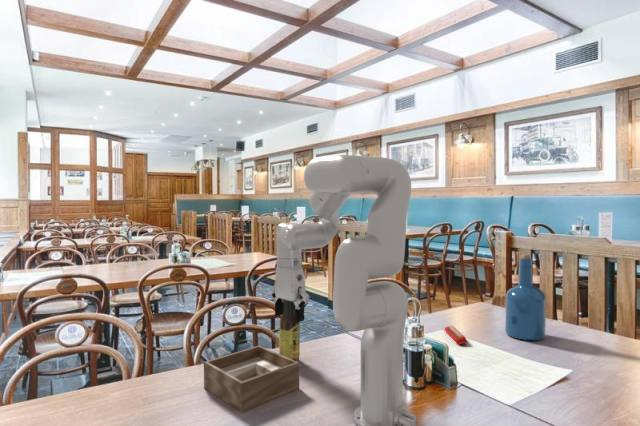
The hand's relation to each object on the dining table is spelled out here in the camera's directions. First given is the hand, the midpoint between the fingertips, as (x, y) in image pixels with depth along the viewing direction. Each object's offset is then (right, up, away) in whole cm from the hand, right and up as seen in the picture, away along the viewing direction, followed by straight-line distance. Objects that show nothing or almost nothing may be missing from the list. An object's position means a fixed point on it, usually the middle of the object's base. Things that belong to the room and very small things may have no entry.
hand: (289, 318), depth 129 cm
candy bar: (+58, -13, +21) cm, 63 cm away
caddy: (-9, -14, -18) cm, 24 cm away
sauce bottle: (0, -14, 0) cm, 14 cm away
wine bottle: (+85, -13, +24) cm, 89 cm away
